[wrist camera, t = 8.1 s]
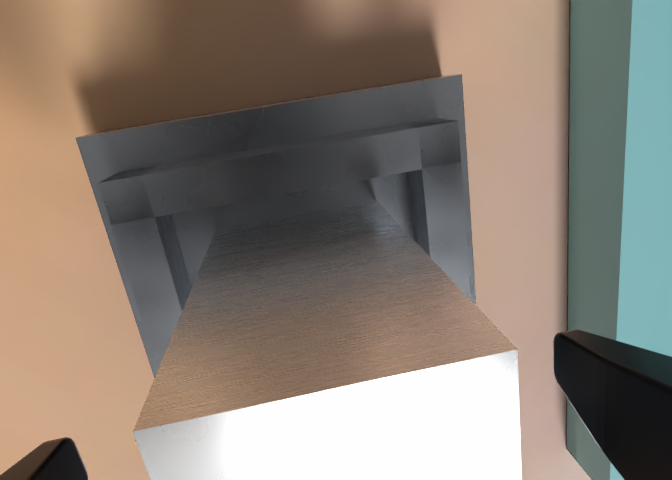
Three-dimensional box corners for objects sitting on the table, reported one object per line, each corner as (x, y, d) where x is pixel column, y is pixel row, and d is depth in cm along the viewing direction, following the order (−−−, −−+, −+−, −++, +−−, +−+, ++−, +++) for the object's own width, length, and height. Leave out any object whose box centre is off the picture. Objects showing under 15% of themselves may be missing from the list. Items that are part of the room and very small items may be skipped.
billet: (394, 338, 15) (526, 608, 7) (250, 368, 14) (225, 685, 7) (375, 199, 13) (516, 348, 6) (215, 229, 13) (133, 432, 5)
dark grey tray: (478, 560, 20) (512, 637, 17) (248, 617, 19) (244, 707, 17) (442, 76, 14) (486, 72, 11) (96, 132, 13) (48, 144, 10)
